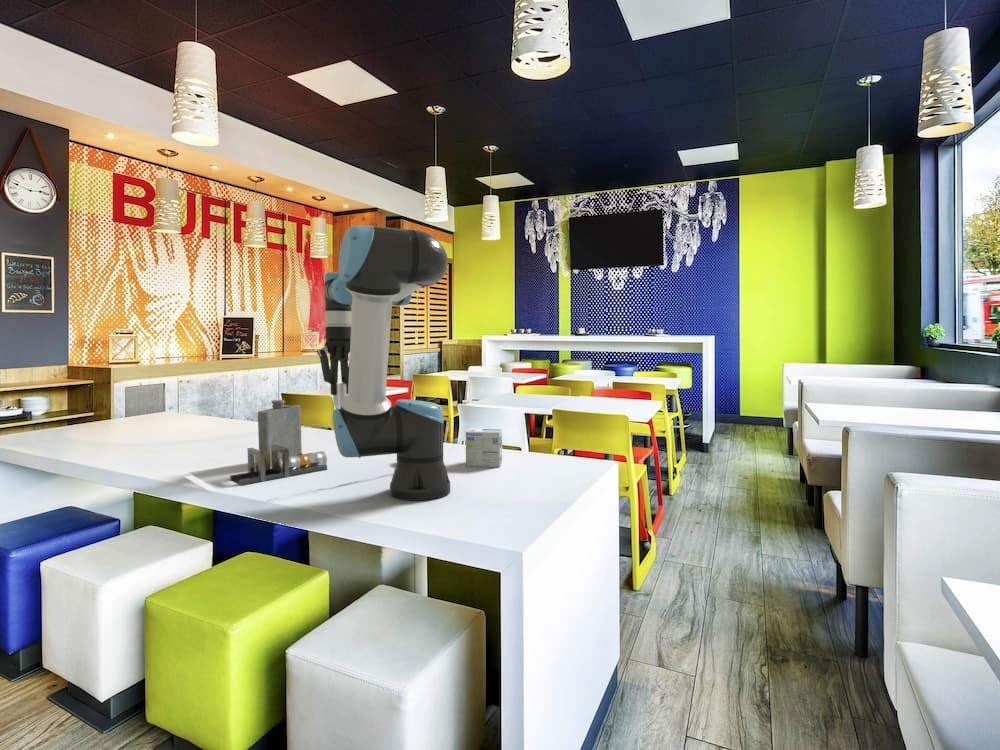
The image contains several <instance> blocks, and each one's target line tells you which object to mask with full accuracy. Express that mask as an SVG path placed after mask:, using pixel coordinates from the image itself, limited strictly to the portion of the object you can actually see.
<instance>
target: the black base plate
mask: <svg viewBox="0 0 1000 750" xmlns="http://www.w3.org/2000/svg"><path fill="white" fill-rule="evenodd" d="M275 470H276V469H275ZM328 470H329V469H328V465H327V464H326V465H320V466H315V467H309V468H304V469H298V470H292V471H289V477H284V473H283V472H281V473H278V472H277V473H274V468H270V469H265V479H266V481H264V482H263V483H265V482H270V481H274V480H275V481H276V480H280V479H286V478H291V477H297V476H302V475H306V474H307V475H308V474H313V473H317V472H323V471H328ZM253 473H254V474H255V476H254V477H250V472H248V471H246V472H242V473H236V474H231V475H229V478H230V479H229V481H231V482H233V483H235V484H237V485H239V486H242V487H244V486H249V485H255V484H259V483H261V482H260V477H259V471H255V472H253ZM251 475H252V474H251Z"/></svg>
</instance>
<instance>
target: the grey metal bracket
mask: <svg viewBox="0 0 1000 750" xmlns="http://www.w3.org/2000/svg"><path fill="white" fill-rule="evenodd" d="M246 449H247V472H250V477H254V476H255V474H254V473H253V472H255V458H254V455H255V456H257V457H258V471H259V477H260V483H265V482H267V481H266V479H265V452H262V451H260V450H259V449H257V448H254V447H247V448H246ZM278 452H281V453H282V462H283V473H284V477H287V478H290V477H289V449H288V448H285V447H282V446H279V445H276V444H274V445H271V455H272V468H274V473H277V472H278V471H277V468H276V461H277V459H278ZM275 469H276V470H275ZM251 474H252V475H251ZM264 481H265V482H264Z"/></svg>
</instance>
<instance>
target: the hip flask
mask: <svg viewBox="0 0 1000 750" xmlns="http://www.w3.org/2000/svg"><path fill="white" fill-rule="evenodd" d="M285 402H286V401H285V400H284V399H273V400H271V404H272V408H268V409H263V410H258V411H257V424H258V426H257V427H258V429H257V431H258V450H260V451H262V452H264V451H270V469H271V468H272V455H271V445H274V444H276V445H279V446H282V447H285V448H288V449H289V456H295V455H299V454H301V453H303V450H302V449H303V448H302V415H301V413H302V412H301V410H302V409H301V406H302V405H298V404H297V405H296V404H295V405H290V404H289V405H285ZM278 458H282V453H281V452H278Z"/></svg>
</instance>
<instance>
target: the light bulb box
mask: <svg viewBox="0 0 1000 750" xmlns="http://www.w3.org/2000/svg"><path fill="white" fill-rule="evenodd" d="M502 464H503V428H468V429H467V430H466V431H465V467H478V468H479V467H480V468H481V467H482V468H483V467H485V468H501V465H502Z"/></svg>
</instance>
